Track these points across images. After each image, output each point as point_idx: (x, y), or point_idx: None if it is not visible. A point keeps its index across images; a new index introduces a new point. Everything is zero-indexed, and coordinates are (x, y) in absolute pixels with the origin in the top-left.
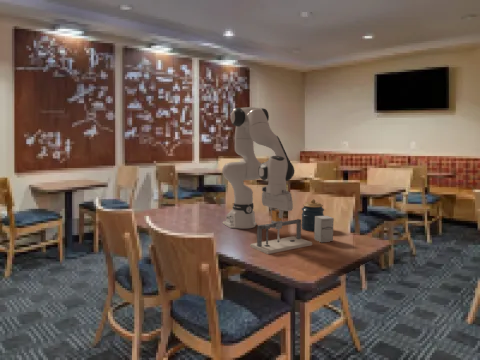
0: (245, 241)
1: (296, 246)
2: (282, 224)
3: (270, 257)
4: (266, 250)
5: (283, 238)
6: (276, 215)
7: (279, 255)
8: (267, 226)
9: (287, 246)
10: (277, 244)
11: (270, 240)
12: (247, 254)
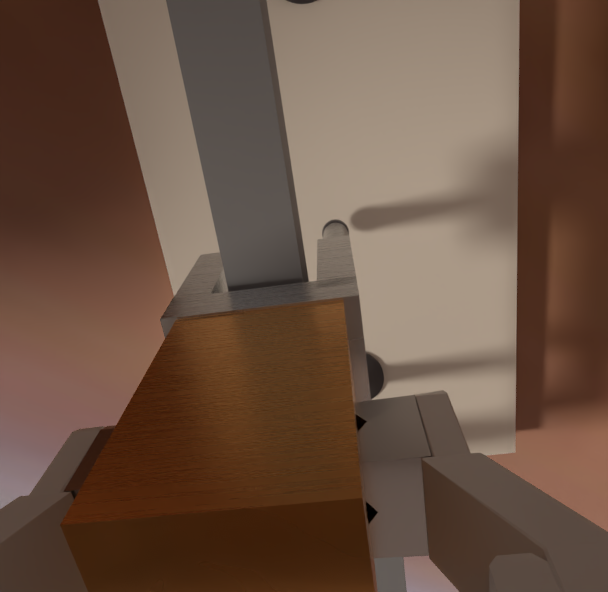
0: (18, 417)
1: (511, 36)
2: (295, 208)
3: (600, 453)
4: (496, 453)
5: (121, 10)
6: (373, 559)
7: (605, 361)
8: (403, 574)
9: (498, 187)
10: (362, 252)
11: (162, 237)
12: (417, 558)
